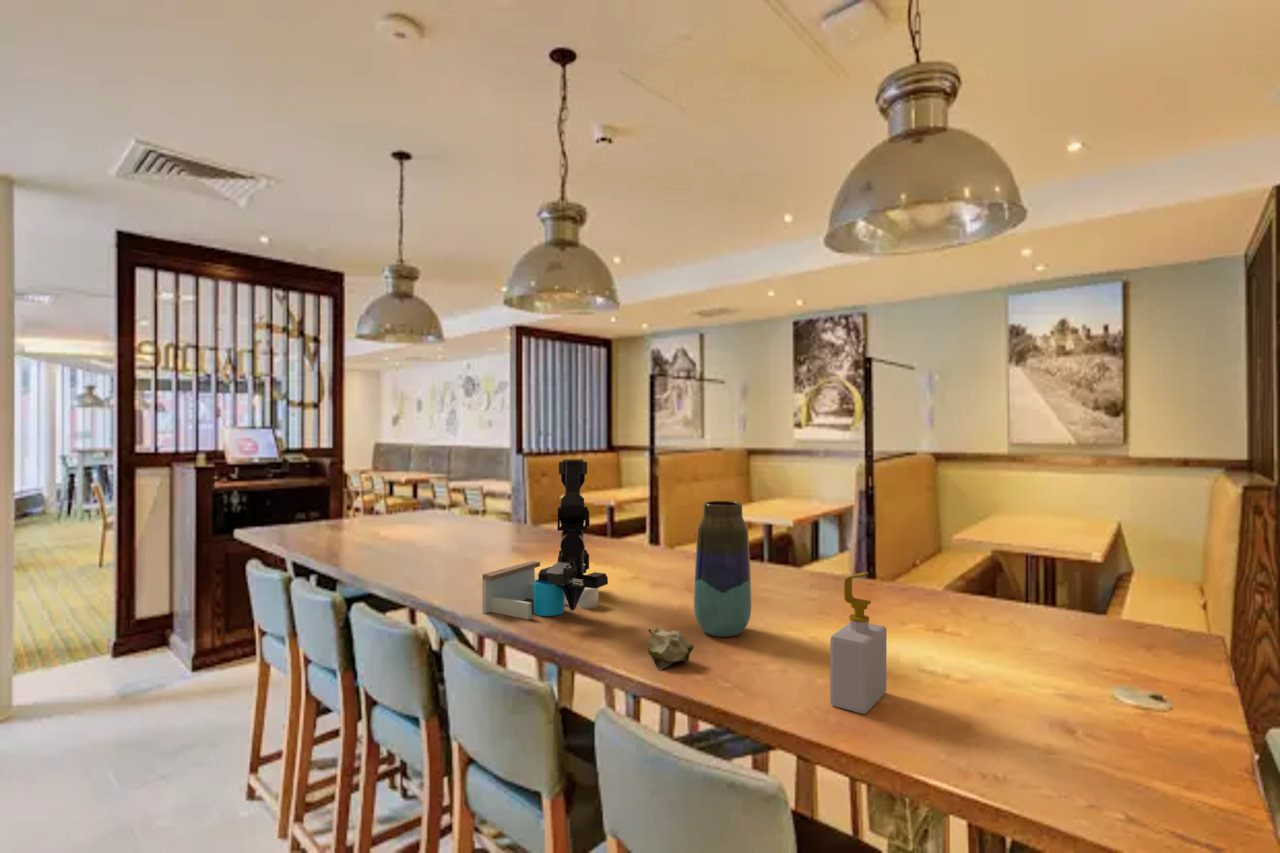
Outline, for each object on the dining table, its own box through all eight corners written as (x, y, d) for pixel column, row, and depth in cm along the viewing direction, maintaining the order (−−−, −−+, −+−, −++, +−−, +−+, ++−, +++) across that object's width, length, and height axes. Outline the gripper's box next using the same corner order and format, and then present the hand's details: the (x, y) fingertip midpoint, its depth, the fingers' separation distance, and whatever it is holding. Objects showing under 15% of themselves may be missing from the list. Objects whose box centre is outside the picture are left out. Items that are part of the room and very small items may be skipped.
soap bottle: (865, 716, 113) (866, 581, 113) (828, 706, 117) (829, 575, 117) (887, 693, 123) (888, 568, 123) (852, 684, 127) (853, 564, 127)
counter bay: (531, 595, 192) (531, 560, 192) (570, 602, 185) (570, 566, 184) (482, 612, 174) (482, 574, 174) (523, 621, 167) (523, 581, 167)
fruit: (639, 666, 140) (639, 627, 142) (678, 663, 144) (677, 625, 146) (659, 672, 132) (659, 631, 134) (699, 669, 136) (698, 629, 138)
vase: (682, 632, 159) (682, 503, 158) (716, 619, 169) (716, 498, 168) (729, 645, 149) (729, 508, 149) (762, 631, 159) (762, 502, 159)
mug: (570, 612, 175) (570, 581, 175) (543, 617, 170) (543, 586, 170) (547, 603, 184) (547, 574, 184) (521, 607, 179) (521, 577, 179)
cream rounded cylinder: (585, 602, 185) (585, 584, 185) (602, 604, 182) (602, 587, 182) (573, 606, 180) (574, 588, 180) (590, 609, 178) (590, 591, 178)
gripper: (524, 552, 169) (524, 612, 169) (584, 559, 160) (584, 623, 160) (551, 545, 179) (551, 602, 179) (608, 551, 170) (609, 612, 170)
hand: (572, 610), depth 172 cm, fingers closed
